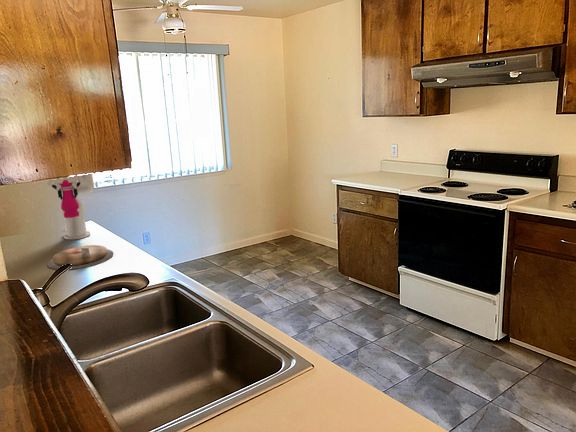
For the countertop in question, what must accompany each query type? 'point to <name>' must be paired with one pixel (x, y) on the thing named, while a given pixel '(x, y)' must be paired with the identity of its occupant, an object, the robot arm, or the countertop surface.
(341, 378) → the countertop surface
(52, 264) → the base
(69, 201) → the pepper mill
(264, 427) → the countertop surface
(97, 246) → the turntable
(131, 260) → the countertop surface
